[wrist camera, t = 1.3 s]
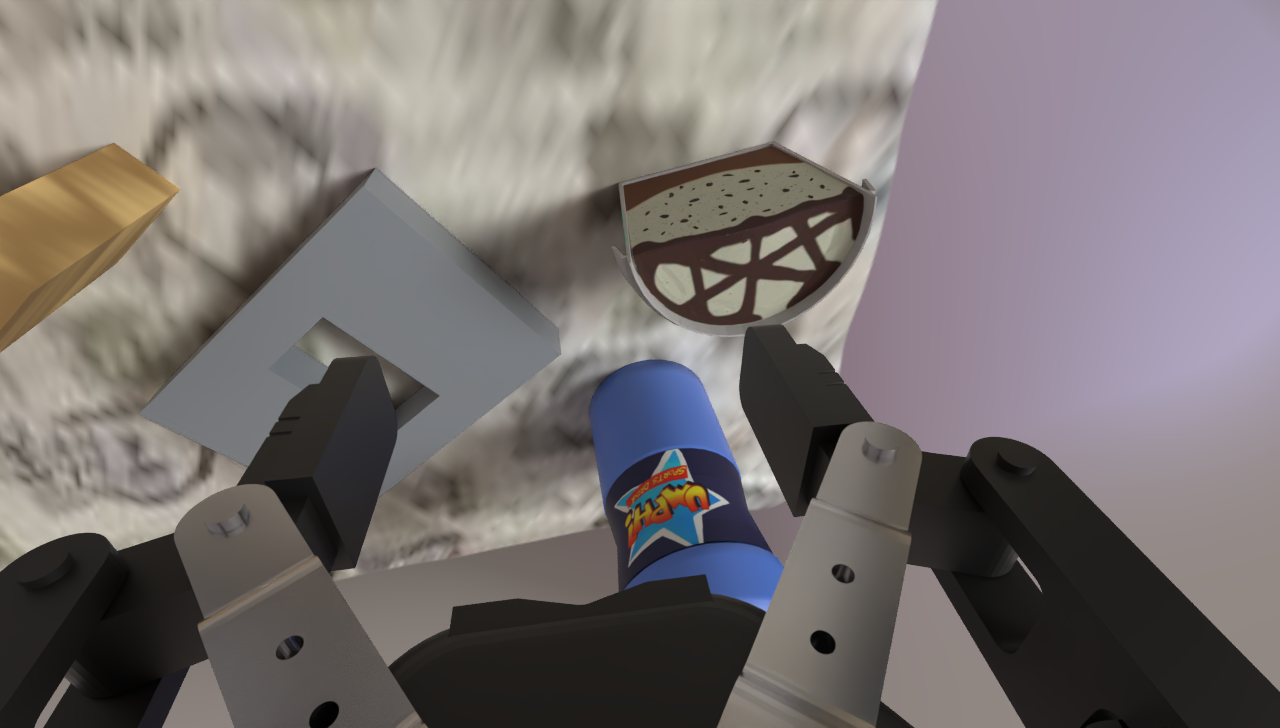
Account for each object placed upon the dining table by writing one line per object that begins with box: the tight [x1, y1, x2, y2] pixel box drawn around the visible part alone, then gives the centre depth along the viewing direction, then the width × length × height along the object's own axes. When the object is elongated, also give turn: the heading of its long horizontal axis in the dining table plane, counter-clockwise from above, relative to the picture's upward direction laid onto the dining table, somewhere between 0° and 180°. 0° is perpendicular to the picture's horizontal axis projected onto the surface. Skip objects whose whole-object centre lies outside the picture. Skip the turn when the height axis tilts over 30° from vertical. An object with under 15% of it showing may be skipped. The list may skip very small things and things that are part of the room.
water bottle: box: [589, 360, 784, 612], centre depth 33 cm, size 9×9×25 cm
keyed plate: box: [139, 168, 561, 498], centre depth 35 cm, size 14×20×3 cm
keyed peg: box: [0, 143, 180, 352], centre depth 24 cm, size 3×6×11 cm, turn 128°
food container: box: [611, 142, 877, 337], centre depth 30 cm, size 12×6×10 cm, turn 102°
